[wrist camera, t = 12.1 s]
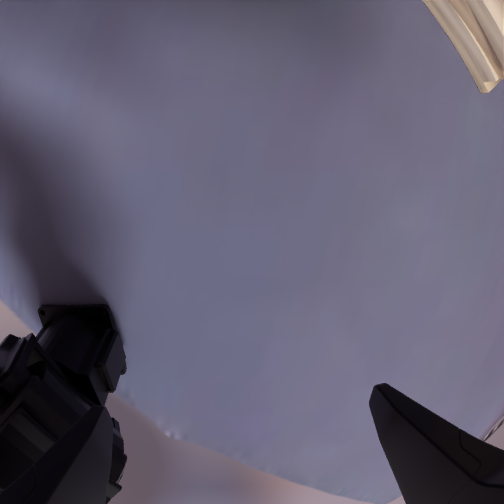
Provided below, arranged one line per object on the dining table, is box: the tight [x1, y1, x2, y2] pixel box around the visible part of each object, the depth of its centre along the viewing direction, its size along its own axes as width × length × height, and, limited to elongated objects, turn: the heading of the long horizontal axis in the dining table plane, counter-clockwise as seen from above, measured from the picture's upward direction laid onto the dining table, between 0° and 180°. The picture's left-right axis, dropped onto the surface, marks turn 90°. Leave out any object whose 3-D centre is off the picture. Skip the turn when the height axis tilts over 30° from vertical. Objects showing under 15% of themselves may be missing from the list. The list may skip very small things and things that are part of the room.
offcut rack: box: [422, 0, 504, 93], centre depth 12 cm, size 9×13×9 cm
